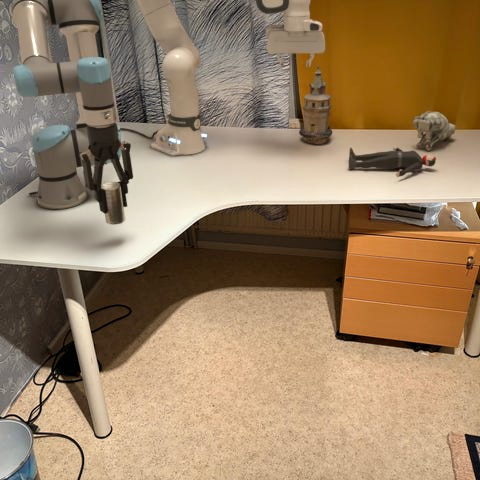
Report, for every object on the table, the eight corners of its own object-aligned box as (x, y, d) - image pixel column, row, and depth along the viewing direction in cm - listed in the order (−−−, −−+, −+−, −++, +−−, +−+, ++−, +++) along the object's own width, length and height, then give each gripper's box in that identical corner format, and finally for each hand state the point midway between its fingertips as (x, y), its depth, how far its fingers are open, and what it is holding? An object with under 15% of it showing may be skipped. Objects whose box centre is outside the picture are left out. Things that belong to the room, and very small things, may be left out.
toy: (350, 139, 204) (432, 140, 198) (349, 155, 207) (431, 156, 201) (348, 164, 182) (441, 166, 176) (347, 181, 185) (438, 183, 179)
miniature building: (320, 132, 228) (325, 59, 214) (338, 142, 217) (344, 66, 203) (293, 137, 224) (296, 63, 209) (310, 147, 213) (314, 69, 198)
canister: (102, 219, 146) (97, 185, 141) (120, 214, 149) (115, 180, 144) (111, 226, 142) (105, 191, 137) (128, 220, 145) (124, 186, 140)
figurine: (442, 162, 206) (466, 135, 215) (430, 119, 197) (456, 92, 206) (420, 162, 213) (444, 135, 222) (407, 120, 205) (433, 94, 213)
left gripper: (73, 135, 125) (88, 223, 136) (141, 119, 135) (150, 203, 146) (60, 128, 130) (75, 213, 141) (126, 113, 140) (136, 194, 151)
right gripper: (265, 26, 180) (265, 68, 187) (327, 25, 179) (324, 68, 186) (265, 23, 185) (265, 64, 192) (325, 22, 184) (322, 64, 191)
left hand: (113, 208), depth 144 cm, fingers closed on canister, 5 cm apart
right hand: (295, 66), depth 189 cm, fingers open, 8 cm apart
